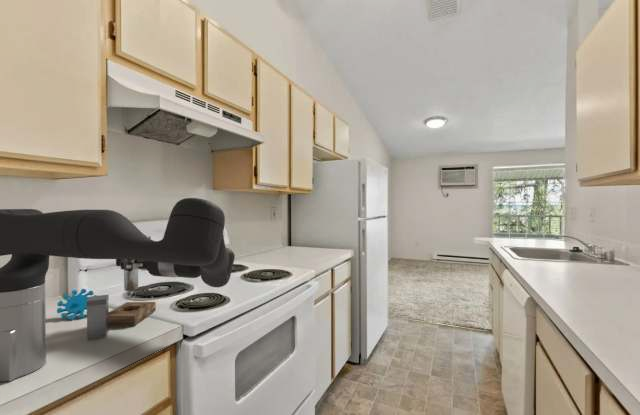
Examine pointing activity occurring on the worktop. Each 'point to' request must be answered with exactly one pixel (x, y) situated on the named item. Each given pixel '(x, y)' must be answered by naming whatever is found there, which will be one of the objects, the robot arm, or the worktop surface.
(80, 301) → the blue virus model
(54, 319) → the worktop surface
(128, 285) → the silver capped cylinder
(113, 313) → the socket plate
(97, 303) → the square bit
